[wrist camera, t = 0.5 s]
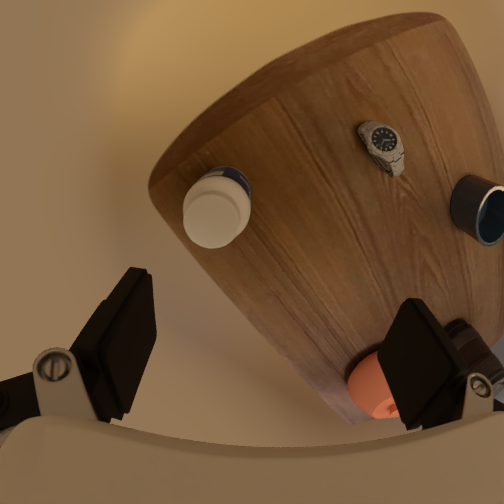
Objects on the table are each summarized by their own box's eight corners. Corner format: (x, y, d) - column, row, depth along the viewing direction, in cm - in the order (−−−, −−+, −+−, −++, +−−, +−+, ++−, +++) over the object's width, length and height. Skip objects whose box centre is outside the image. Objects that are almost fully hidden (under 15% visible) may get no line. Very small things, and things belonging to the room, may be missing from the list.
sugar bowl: (331, 365, 39) (345, 420, 30) (410, 319, 35) (440, 368, 26) (359, 395, 43) (371, 440, 34) (425, 357, 39) (447, 399, 30)
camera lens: (445, 354, 40) (478, 413, 26) (425, 345, 38) (462, 412, 24) (474, 323, 36) (514, 379, 23) (457, 309, 35) (503, 372, 21)
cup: (473, 162, 25) (502, 172, 20) (492, 204, 27) (516, 218, 22) (441, 201, 27) (468, 216, 22) (462, 240, 30) (485, 258, 25)
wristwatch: (369, 114, 24) (390, 114, 19) (398, 162, 26) (422, 171, 21) (344, 132, 25) (362, 135, 20) (375, 180, 27) (396, 192, 22)
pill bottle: (259, 205, 28) (261, 243, 20) (211, 223, 29) (193, 268, 20) (239, 156, 26) (231, 172, 17) (190, 177, 27) (160, 203, 18)
